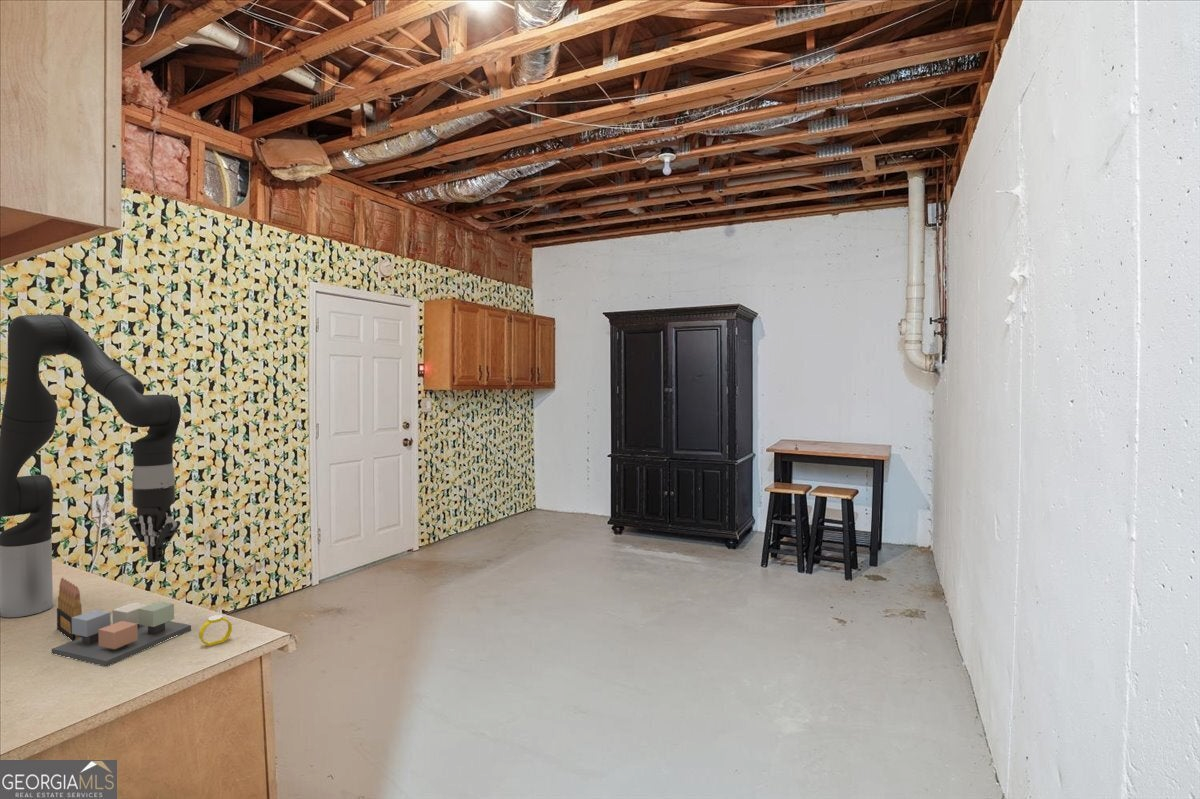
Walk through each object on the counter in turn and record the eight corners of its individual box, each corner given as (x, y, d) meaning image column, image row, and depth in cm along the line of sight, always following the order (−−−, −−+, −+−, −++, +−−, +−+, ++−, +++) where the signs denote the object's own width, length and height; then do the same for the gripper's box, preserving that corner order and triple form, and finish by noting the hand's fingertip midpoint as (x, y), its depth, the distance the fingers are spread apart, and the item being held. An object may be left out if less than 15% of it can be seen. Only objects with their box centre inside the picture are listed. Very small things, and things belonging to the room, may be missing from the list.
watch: (203, 651, 127) (200, 624, 127) (199, 646, 129) (196, 620, 128) (234, 639, 132) (231, 614, 131) (229, 636, 134) (227, 610, 133)
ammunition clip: (84, 638, 131) (83, 585, 130) (73, 641, 129) (72, 588, 129) (67, 626, 137) (66, 575, 136) (56, 629, 135) (55, 578, 135)
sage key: (138, 624, 131) (138, 608, 131) (159, 616, 135) (158, 601, 135) (153, 627, 130) (153, 611, 129) (174, 618, 134) (173, 603, 134)
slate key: (71, 633, 126) (71, 617, 125) (95, 625, 130) (95, 609, 130) (87, 636, 124) (86, 620, 124) (110, 628, 129) (110, 612, 129)
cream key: (112, 625, 133) (112, 609, 133) (133, 617, 138) (133, 602, 138) (127, 628, 132) (127, 612, 132) (148, 619, 136) (148, 605, 136)
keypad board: (51, 654, 124) (51, 636, 124) (140, 620, 141) (140, 604, 141) (106, 666, 119) (106, 647, 119) (191, 630, 136) (191, 613, 136)
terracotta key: (98, 645, 123) (98, 629, 123) (122, 636, 128) (121, 620, 128) (114, 649, 122) (114, 632, 122) (137, 639, 126) (137, 623, 126)
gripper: (114, 485, 129) (115, 563, 130) (158, 489, 125) (160, 569, 126) (149, 479, 137) (150, 553, 137) (192, 483, 133) (193, 559, 133)
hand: (155, 561), depth 132 cm, fingers closed
